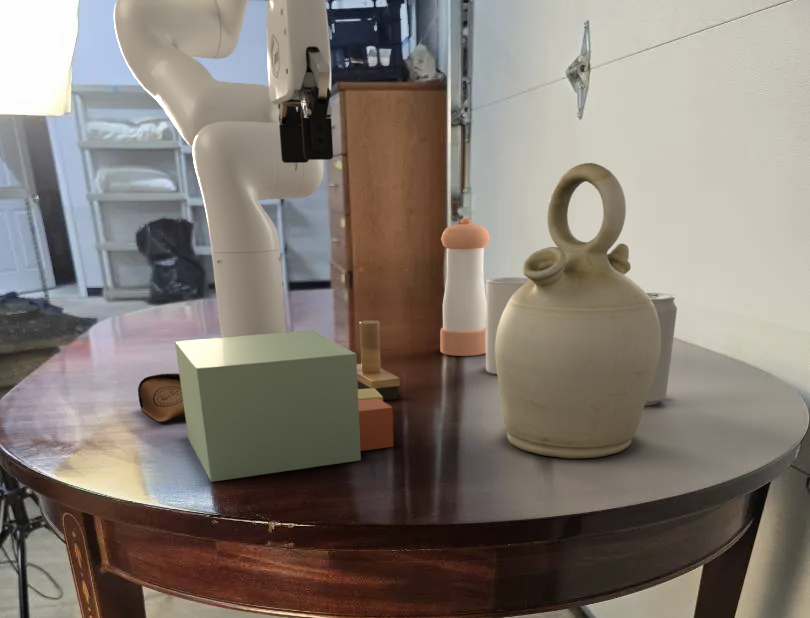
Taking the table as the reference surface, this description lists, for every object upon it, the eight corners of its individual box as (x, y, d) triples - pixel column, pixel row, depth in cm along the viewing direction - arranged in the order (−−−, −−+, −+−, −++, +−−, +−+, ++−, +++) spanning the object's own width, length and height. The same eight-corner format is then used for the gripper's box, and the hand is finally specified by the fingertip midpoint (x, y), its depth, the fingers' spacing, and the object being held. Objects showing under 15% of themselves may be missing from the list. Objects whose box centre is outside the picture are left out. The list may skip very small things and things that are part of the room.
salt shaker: (497, 352, 119) (501, 217, 111) (459, 358, 115) (461, 219, 107) (467, 345, 124) (469, 216, 116) (431, 350, 121) (430, 218, 113)
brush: (345, 385, 101) (342, 317, 97) (371, 382, 102) (368, 315, 98) (372, 402, 92) (370, 329, 89) (400, 399, 93) (398, 326, 90)
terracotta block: (340, 402, 77) (378, 397, 78) (342, 441, 78) (379, 436, 80) (353, 411, 73) (392, 407, 75) (355, 452, 75) (393, 446, 76)
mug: (502, 378, 103) (506, 284, 98) (474, 369, 108) (476, 279, 103) (561, 369, 107) (568, 278, 102) (532, 361, 112) (536, 274, 107)
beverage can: (666, 395, 93) (679, 291, 88) (664, 409, 87) (677, 299, 82) (612, 392, 95) (621, 290, 90) (606, 405, 89) (616, 297, 84)
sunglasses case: (161, 421, 84) (143, 363, 84) (149, 440, 90) (133, 386, 90) (309, 397, 93) (293, 344, 93) (289, 415, 99) (274, 366, 99)
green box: (186, 435, 81) (172, 338, 77) (314, 419, 86) (308, 327, 82) (211, 482, 68) (196, 368, 64) (361, 460, 73) (356, 353, 69)
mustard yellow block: (337, 390, 81) (374, 387, 82) (339, 427, 83) (375, 424, 84) (344, 399, 78) (383, 396, 79) (346, 438, 79) (384, 434, 80)
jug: (546, 475, 68) (567, 160, 58) (465, 430, 81) (469, 166, 71) (683, 451, 74) (724, 159, 63) (586, 413, 86) (607, 165, 76)
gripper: (243, -4, 88) (257, 163, 95) (280, -43, 73) (294, 158, 80) (307, 0, 90) (316, 163, 97) (355, -37, 76) (362, 158, 83)
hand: (306, 161), depth 89 cm, fingers open, 9 cm apart
